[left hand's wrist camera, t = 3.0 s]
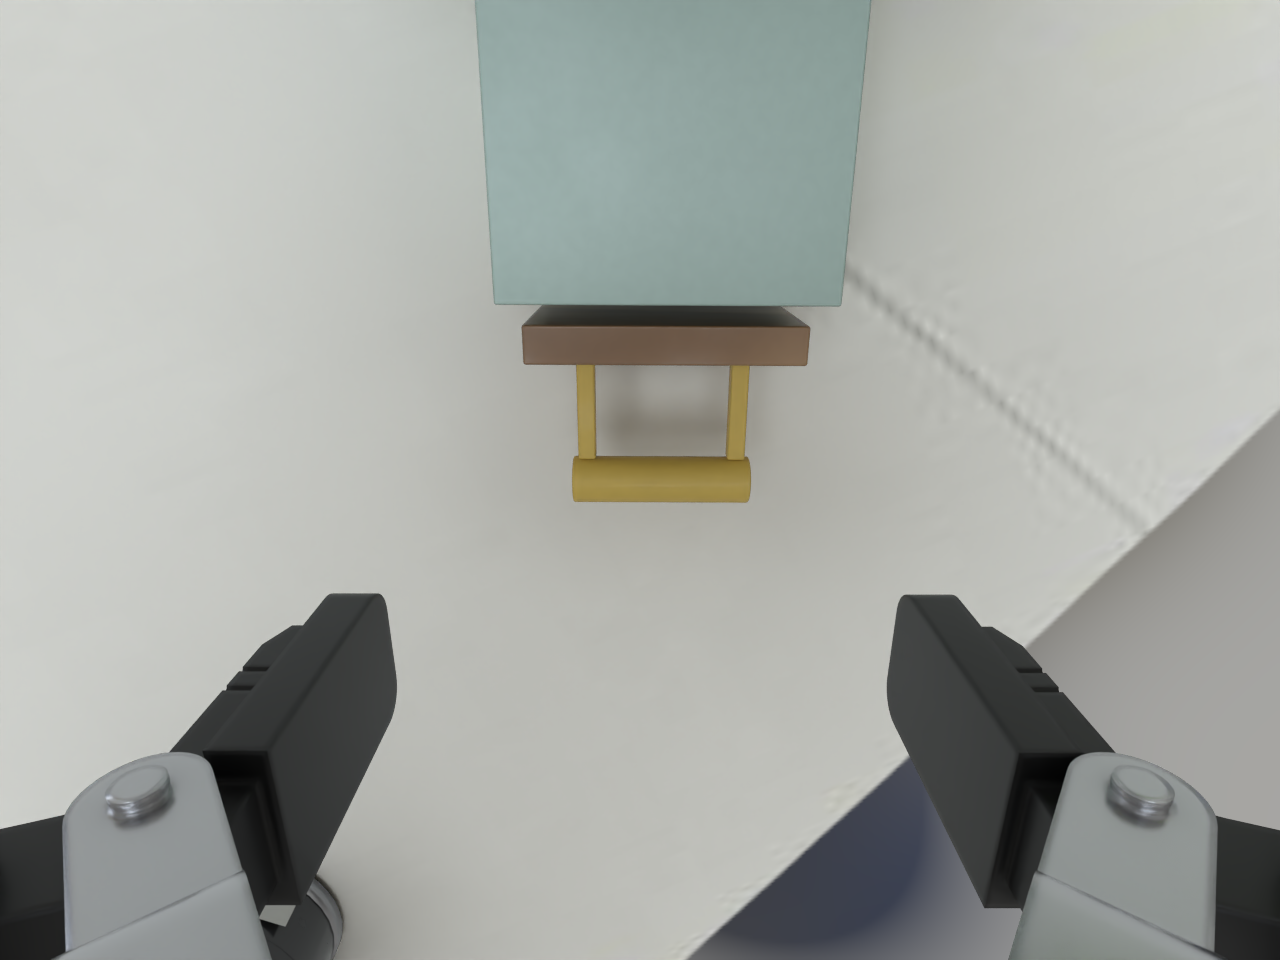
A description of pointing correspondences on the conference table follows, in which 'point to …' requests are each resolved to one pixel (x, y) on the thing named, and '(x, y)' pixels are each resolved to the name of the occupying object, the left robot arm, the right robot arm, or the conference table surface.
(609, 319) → the drawer
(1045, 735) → the left robot arm
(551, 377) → the conference table surface
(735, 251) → the cabinet
